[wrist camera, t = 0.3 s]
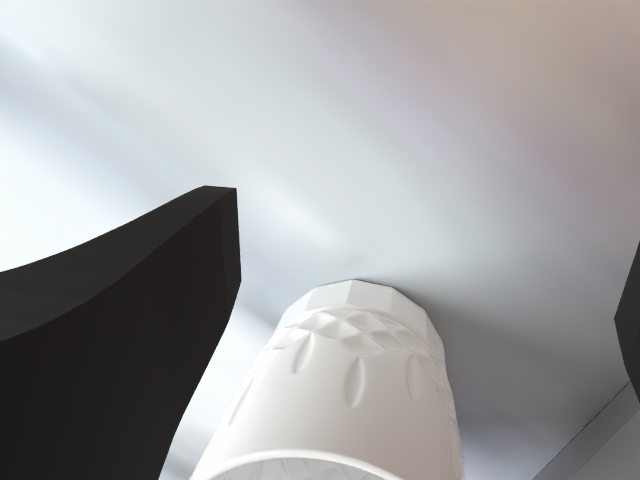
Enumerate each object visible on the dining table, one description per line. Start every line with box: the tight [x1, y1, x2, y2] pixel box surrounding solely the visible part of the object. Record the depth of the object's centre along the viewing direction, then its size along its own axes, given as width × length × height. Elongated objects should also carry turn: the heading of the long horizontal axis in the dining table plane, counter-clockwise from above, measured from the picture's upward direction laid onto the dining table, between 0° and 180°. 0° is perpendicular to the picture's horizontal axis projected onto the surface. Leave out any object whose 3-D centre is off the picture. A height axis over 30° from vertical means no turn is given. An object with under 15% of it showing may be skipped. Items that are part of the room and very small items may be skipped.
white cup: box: [189, 280, 466, 480], centre depth 20 cm, size 8×8×10 cm
